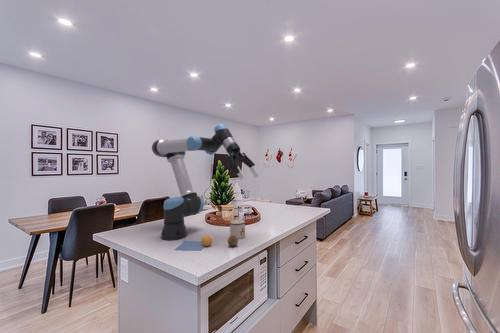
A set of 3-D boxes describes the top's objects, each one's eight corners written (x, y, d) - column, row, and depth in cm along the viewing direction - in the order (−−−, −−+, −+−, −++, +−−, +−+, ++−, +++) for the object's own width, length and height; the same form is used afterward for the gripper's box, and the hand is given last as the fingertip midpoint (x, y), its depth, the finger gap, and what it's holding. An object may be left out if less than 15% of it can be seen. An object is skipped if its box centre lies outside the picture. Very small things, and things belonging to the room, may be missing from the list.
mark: (174, 250, 120) (174, 249, 120) (184, 241, 134) (184, 241, 134) (201, 250, 119) (201, 250, 119) (208, 241, 132) (208, 241, 132)
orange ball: (200, 247, 123) (200, 236, 123) (203, 244, 128) (203, 233, 128) (210, 247, 122) (210, 237, 122) (213, 244, 128) (213, 234, 128)
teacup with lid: (243, 239, 135) (243, 219, 135) (228, 238, 137) (227, 218, 137) (247, 233, 147) (247, 214, 147) (233, 233, 149) (233, 214, 149)
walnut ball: (226, 247, 121) (226, 237, 122) (228, 244, 127) (228, 234, 127) (237, 248, 121) (237, 237, 121) (239, 244, 126) (238, 234, 126)
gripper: (220, 141, 123) (240, 174, 116) (248, 143, 143) (266, 172, 136) (212, 150, 127) (231, 182, 119) (240, 151, 147) (258, 179, 140)
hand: (250, 177), depth 128 cm, fingers open, 13 cm apart
